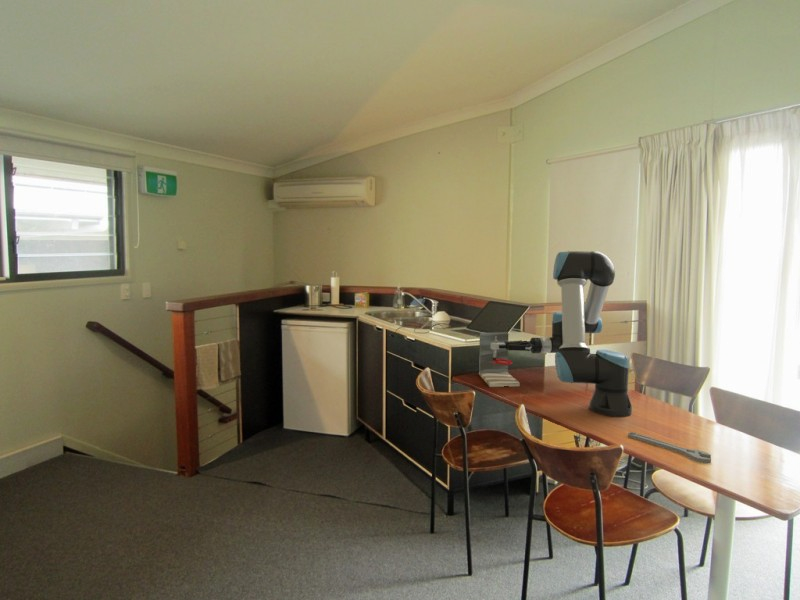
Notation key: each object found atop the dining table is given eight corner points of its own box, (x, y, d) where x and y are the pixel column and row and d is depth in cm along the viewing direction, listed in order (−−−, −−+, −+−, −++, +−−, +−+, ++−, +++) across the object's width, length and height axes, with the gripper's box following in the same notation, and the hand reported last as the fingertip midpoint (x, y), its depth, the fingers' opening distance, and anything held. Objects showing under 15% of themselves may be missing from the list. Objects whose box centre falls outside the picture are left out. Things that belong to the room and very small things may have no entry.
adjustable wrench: (626, 437, 158) (626, 432, 158) (637, 433, 162) (637, 428, 161) (705, 465, 137) (705, 459, 137) (716, 460, 140) (717, 455, 140)
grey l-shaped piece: (519, 386, 217) (520, 340, 215) (489, 386, 217) (490, 340, 214) (506, 374, 239) (507, 332, 237) (479, 374, 238) (479, 332, 236)
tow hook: (511, 361, 227) (492, 360, 229) (513, 335, 226) (493, 334, 227) (513, 366, 219) (492, 364, 220) (515, 339, 217) (494, 337, 219)
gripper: (545, 356, 218) (495, 357, 216) (534, 349, 232) (487, 350, 231) (545, 340, 217) (495, 341, 216) (535, 334, 231) (487, 335, 230)
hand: (491, 346), depth 223 cm, fingers closed on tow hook
